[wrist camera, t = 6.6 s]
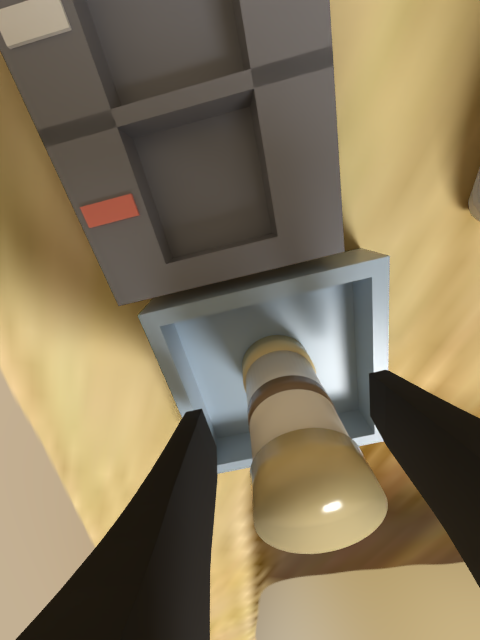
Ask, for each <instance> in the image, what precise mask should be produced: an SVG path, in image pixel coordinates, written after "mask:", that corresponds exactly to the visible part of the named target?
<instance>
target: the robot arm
mask: <svg viewBox="0 0 480 640" xmlns="http://www.w3.org/2000/svg"><path fill="white" fill-rule="evenodd" d="M369 397H370V417H371V419H372V420H373V422H374V424H375V426H376V428H377V430H378V432H379V433H380V435H381V437H382V439H383V440H384V442H385V444H386V445H387V447H388V448H389V450H390V451H391V453H392V454H393V455H394V457H395V458H396V460H397V461H398V463H399V464H400V465H401V467H402V468H403V470H404V471H405V473H406V474H407V475H408V477H409V478H410V480H411V481H412V482H413V484H414V485H415V487H416V488H417V490H418V491H419V492H420V494H421V495H422V497H423V498H424V499H425V501H426V502H427V504H428V505H429V506H430V508H431V509H432V511H433V512H434V514H435V515H436V517H437V518H438V520H439V521H440V523H441V524H442V526H443V527H444V529H445V530H446V532H447V533H448V535H449V537H450V538H451V540H452V542H453V543H454V545H455V547H456V548H457V550H458V552H459V553H460V555H461V557H462V558H463V560H464V562H465V563H466V565H467V567H468V568H469V570H470V572H471V573H472V575H473V577H474V579H475V580H476V582H477V584H478V585H479V587H480V418H478V417H476V416H474V415H472V414H470V413H468V412H466V411H464V410H462V409H460V408H458V407H456V406H454V405H452V404H450V403H448V402H446V401H444V400H442V399H440V398H438V397H436V396H435V395H433V394H431V393H429V392H427V391H425V390H423V389H421V388H420V387H418V386H416V385H414V384H412V383H410V382H409V381H407V380H405V379H403V378H401V377H399V376H397V375H396V374H394V373H392V372H390V371H388V370H382V371H377V372H373V373H369ZM216 488H217V446H216V444H215V441H214V438H213V436H212V433H211V431H210V428H209V425H208V423H207V420H206V418H205V415H204V413H203V410H202V409H197V410H193V411H188V412H186V413H185V414H184V416H183V418H182V419H181V421H180V423H179V425H178V426H177V428H176V430H175V432H174V433H173V435H172V437H171V438H170V440H169V442H168V444H167V445H166V447H165V449H164V450H163V452H162V453H161V455H160V457H159V458H158V460H157V462H156V463H155V465H154V467H153V468H152V470H151V471H150V473H149V474H148V476H147V477H146V479H145V480H144V482H143V483H142V485H141V486H140V488H139V489H138V491H137V492H136V494H135V495H134V497H133V498H132V500H131V501H130V503H129V504H128V505H127V507H126V508H125V510H124V511H123V512H122V514H121V515H120V516H119V518H118V519H117V521H116V522H115V523H114V525H113V526H112V527H111V529H110V530H109V531H108V532H107V534H106V535H105V536H104V538H103V539H102V540H101V542H100V543H99V544H98V545H97V547H96V548H95V549H94V550H93V552H92V553H91V554H90V555H89V556H88V557H87V559H86V560H85V561H84V562H83V563H82V565H81V566H80V567H79V568H78V569H77V571H76V572H75V573H74V574H73V575H72V577H71V578H70V579H69V580H68V581H67V583H66V584H65V585H64V586H63V588H62V589H61V590H60V591H59V592H58V593H57V594H56V595H55V597H54V598H53V599H52V600H51V601H50V602H49V603H48V604H47V606H46V607H45V608H44V609H43V610H42V611H41V612H40V613H39V615H38V616H37V617H36V618H35V619H34V620H33V621H32V622H31V623H30V624H29V626H28V627H27V628H26V629H25V630H24V631H23V632H22V633H21V634H20V635H19V636H18V638H17V639H16V640H210V563H211V547H212V536H213V524H214V512H215V500H216Z"/></svg>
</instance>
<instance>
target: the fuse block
mask: <svg viewBox="0 0 480 640" xmlns="http://www.w3.org/2000/svg"><path fill="white" fill-rule="evenodd" d="M0 51H1V53H2V55H3V57H4V60H5V62H6V64H7V66H8V68H9V70H10V73H11V75H12V77H13V79H14V81H15V83H16V85H17V88H18V90H19V92H20V94H21V96H22V98H23V101H24V103H25V105H26V107H27V109H28V111H29V114H30V116H31V118H32V120H33V122H34V124H35V127H36V129H37V131H38V133H39V135H40V137H41V139H42V142H43V144H44V146H45V148H46V150H47V152H48V155H49V157H50V159H51V161H52V163H53V165H54V168H55V170H56V172H57V174H58V176H59V178H60V181H61V183H62V185H63V187H64V189H65V191H66V194H67V196H68V198H69V200H70V202H71V204H72V206H73V209H74V211H75V213H76V215H77V217H78V219H79V222H80V224H81V226H82V228H83V230H84V232H85V235H86V237H87V239H88V241H89V243H90V245H91V248H92V250H93V252H94V254H95V256H96V258H97V260H98V263H99V265H100V267H101V269H102V271H103V273H104V276H105V278H106V280H107V282H108V284H109V286H110V289H111V291H112V293H113V295H114V297H115V299H116V302H117V304H118V306H121V305H125V304H129V303H133V302H138V301H142V300H146V299H150V298H154V297H158V296H163V295H167V294H171V293H175V292H179V291H183V290H188V289H192V288H196V287H200V286H204V285H208V284H213V283H217V282H221V281H225V280H229V279H233V278H238V277H242V276H246V275H250V274H254V273H258V272H263V271H267V270H271V269H275V268H279V267H283V266H288V265H292V264H296V263H300V262H304V261H308V260H313V259H317V258H321V257H325V256H329V255H333V254H338V253H342V252H345V250H344V234H343V217H342V200H341V184H340V167H339V151H338V134H337V117H336V101H335V84H334V67H333V51H332V34H331V17H330V1H329V0H0Z"/></svg>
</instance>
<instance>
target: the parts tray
mask: <svg viewBox="0 0 480 640" xmlns="http://www.w3.org/2000/svg"><path fill="white" fill-rule="evenodd" d="M389 258H390V256H388V255H384V254H381V253H377V252H373V251H370V250H366V249H363V248H359V249H355V250H351V251H346V252H342V253H338V254H334V255H330V256H326V257H321V258H317V259H313V260H309V261H305V262H301V263H296V264H292V265H288V266H284V267H280V268H276V269H271V270H267V271H263V272H259V273H255V274H251V275H246V276H242V277H238V278H234V279H230V280H226V281H221V282H217V283H213V284H209V285H205V286H201V287H196V288H192V289H188V290H184V291H180V292H176V293H171V294H167V295H163V296H159V297H155V298H153V299H152V300H151V301H150V302H149V303H148V304H147V305H146V307H145V308H144V309H143V310H142V311H141V312H140V313H139V315H138V318H139V320H140V322H141V324H142V327H143V329H144V331H145V334H146V336H147V338H148V341H149V343H150V345H151V347H152V350H153V352H154V354H155V357H156V359H157V361H158V363H159V366H160V368H161V370H162V373H163V375H164V377H165V379H166V382H167V384H168V386H169V389H170V391H171V393H172V395H173V398H174V400H175V402H176V405H177V407H178V409H179V412H180V414H181V416H182V418H183V416H184V414H185V413H186V412H188V411H193V410H197V409H202V410H203V413H204V415H205V418H206V420H207V423H208V425H209V428H210V431H211V433H212V436H213V438H214V441H215V444H216V446H217V474H218V473H224V472H229V471H234V470H239V469H244V468H249V467H251V464H252V450H251V439H250V432H249V426H248V414H247V408H248V405H247V394H246V392H245V389H244V385H243V374H242V360H243V357H244V355H245V353H246V351H247V350H248V348H249V347H250V346H251V345H252V344H253V343H255V342H256V341H258V340H259V339H261V338H264V337H267V336H271V335H284V336H289V337H292V338H294V339H296V340H297V341H299V342H300V343H301V344H302V345H303V346H304V348H305V350H306V351H307V353H308V355H309V357H310V359H311V360H312V362H313V364H314V366H315V369H316V375H317V377H318V378H319V380H320V382H321V384H322V386H323V388H324V389H325V390H326V392H327V394H328V395H329V397H330V399H331V401H332V403H333V405H334V407H335V409H336V412H337V414H338V416H339V418H340V420H341V422H342V424H343V426H344V427H345V429H346V431H347V433H348V435H349V437H350V438H351V439H352V440H354V441H355V442H356V444H357V445H358V446H362V445H367V444H372V443H377V442H382V441H384V440H383V439H382V437H381V435H380V433H379V432H378V430H377V428H376V426H375V424H374V422H373V420H372V419H371V417H370V397H369V373H373V372H377V371H382V370H388V341H389Z"/></svg>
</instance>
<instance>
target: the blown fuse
mask: <svg viewBox="0 0 480 640" xmlns="http://www.w3.org/2000/svg"><path fill="white" fill-rule="evenodd" d="M242 374H243V385H244V389H245V392H246V394H247V405H248V408H247V414H248V426H249V432H250V439H251V450H252V464H251V468H250V478H251V491H252V504H253V517H254V526H255V530H256V532H257V534H258V535H259V536H260V538H261V539H262V540H264V541H265V542H266V543H268V544H269V545H271V546H273V547H275V548H277V549H280V550H283V551H287V552H292V553H301V554H314V553H324V552H330V551H334V550H338V549H342V548H345V547H347V546H350V545H352V544H354V543H357V542H358V541H360V540H362V539H364V538H365V537H367V536H368V535H370V534H371V533H372V532H373V531H375V529H376V528H377V527H378V526H379V525H380V524H381V523H382V521H383V519H384V518H385V516H386V512H387V507H388V503H387V498H386V495H385V493H384V492H383V490H382V488H381V486H380V484H379V482H378V481H377V479H376V477H375V475H374V473H373V471H372V470H371V468H370V466H369V464H368V462H367V461H366V459H365V457H364V455H363V453H362V451H361V450H360V448H359V446H358V445H357V444H356V442H355V441H354V440H352V439H351V438H350V437H349V435H348V433H347V431H346V429H345V427H344V426H343V424H342V422H341V420H340V418H339V416H338V414H337V412H336V409H335V407H334V405H333V403H332V401H331V399H330V397H329V395H328V394H327V392H326V390H325V389H324V388H323V386H322V384H321V382H320V380H319V378H318V377H317V375H316V369H315V366H314V364H313V362H312V360H311V359H310V357H309V355H308V353H307V351H306V350H305V348H304V346H303V345H302V344H301V343H300V342H299V341H297V340H296V339H294V338H292V337H289V336H284V335H271V336H267V337H264V338H261V339H259V340H258V341H256V342H255V343H253V344H252V345H251V346H250V347H249V348H248V350H247V351H246V353H245V355H244V357H243V360H242Z"/></svg>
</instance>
